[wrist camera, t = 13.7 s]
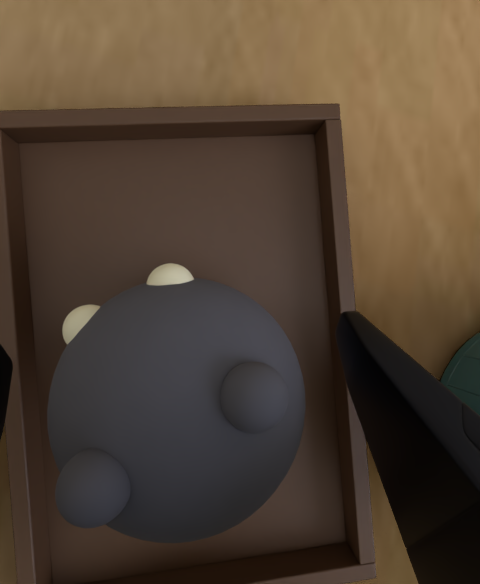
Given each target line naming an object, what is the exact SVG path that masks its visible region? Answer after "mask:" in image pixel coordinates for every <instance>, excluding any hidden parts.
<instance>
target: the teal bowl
mask: <svg viewBox="0 0 480 584" xmlns="http://www.w3.org/2000/svg"><path fill="white" fill-rule="evenodd" d="M440 382H441V383H442V384H443V385H444V386H445V387H447V388H448V389H449V390H450V391H451V392H452V393H454V394H455V395H456V396H457V397H458V398H459V399H461V401H462V403H465V404H467V405H468V406H469V407H470V408H471V409H472V410H474V411H475V412H476V413H477V414H478V415H480V332H479V333H477V334H476V335H474V336H473V337H472V338H471V339H469V340H468V341H467V342H466V343H465V344H464V345H463V346H462V347H461V348H460V349H459V350H458V351H457V353H456V354H455V355H454V357H453V358H452V359H451V361H450V363H449V364H448V366H447V368H446V369H445V371H444V373H443V376H442V378H441V380H440Z"/></svg>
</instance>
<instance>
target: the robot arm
mask: <svg viewBox="0 0 480 584" xmlns="http://www.w3.org/2000/svg"><path fill="white" fill-rule="evenodd" d="M335 337H336V342H337V346H338V350H339V354H340V358H341V363H342V367H343V371H344V375H345V379H346V383H347V387H348V390H349V393H350V396H351V399H352V401H353V404H354V407H355V410H356V412H357V415H358V418H359V421H360V423H361V426H362V429H363V432H364V434H365V437H366V440H367V443H368V445H369V448H370V451H371V453H372V456H373V459H374V462H375V464H376V467H377V470H378V473H379V475H380V478H381V481H382V484H383V486H384V489H385V492H386V495H387V497H388V500H389V503H390V506H391V508H392V511H393V514H394V517H395V519H396V522H397V525H398V528H399V530H400V533H401V536H402V539H403V541H404V544H405V547H406V548H407V549H406V550H407V553H408V556H409V558H410V561H411V564H412V567H413V569H414V572H415V575H416V578H417V580H418V583H419V584H480V415H478V414H477V413H476V412H475V411H474V410H472V409H471V408H470V407H469V406H468V405H467V404H465V403H462V401H461V399H459V398H458V397H457V396H456V395H455V394H454V393H452V392H451V391H450V390H449V389H448V388H447V387H445V386H444V385H443V384H442V383H441V382H440V381H438V380H437V379H436V378H435V377H434V376H433V375H431V374H430V373H429V372H428V371H427V370H426V369H424V368H423V367H422V366H421V365H420V364H419V363H417V362H416V361H415V360H414V359H413V358H411V357H410V356H409V355H408V354H407V353H406V352H404V351H403V350H402V349H401V348H400V347H399V346H397V345H396V344H395V343H394V342H393V341H392V340H390V339H389V338H388V337H387V336H386V335H385V334H383V333H382V332H381V331H380V330H379V329H378V328H376V327H375V326H374V325H373V324H372V323H371V322H369V321H368V320H367V319H366V318H365V317H364V316H362V315H361V314H360V313H359V312H357V311H346V312H343V313H341V315H340V318H339V321H338V324H337V327H336V331H335ZM12 371H13V363H12V360H11V358H10V357H9V355H8V354H7V353H6V351H5V350H4V348H3V347H2V345H1V344H0V440H1V436H2V432H3V428H4V424H5V418H6V412H7V406H8V399H9V392H10V385H11V378H12Z"/></svg>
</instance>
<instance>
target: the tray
mask: <svg viewBox="0 0 480 584" xmlns="http://www.w3.org/2000/svg"><path fill="white" fill-rule="evenodd" d="M168 263H173V264H178V265H181V266H183V267H185V268H186V269H187V270H188V271H189V272H190V273H191V274H192V276H193V278H200V279H206V280H210V281H214V282H219V283H221V284H224V285H226V286H229V287H232V288H234V289H236V290H238V291H239V292H241V293H243V294H245V295H247V296H248V297H250V298H251V299H253V300H254V301H255V302H257V303H258V304H259V305H261V306H262V307H263V308H264V309H265V310H266V311H267V312H268V313H269V314H270V315H271V316H272V317H273V318H274V319H275V320H276V322H277V323H278V324H279V325H280V327H281V328H282V329H283V331H284V332H285V334H286V336H287V337H288V339H289V341H290V342H291V345H292V347H293V349H294V351H295V354H296V356H297V359H298V362H299V365H300V369H301V372H302V375H303V381H304V388H305V406H306V408H305V418H304V427H303V432H302V436H301V441H300V445H299V448H298V450H297V453H296V456H295V459H294V461H293V463H292V465H291V467H290V469H289V471H288V473H287V475H286V476H285V477H284V479H283V480H282V482H281V483H280V485H279V486H278V488H277V489H276V491H275V492H274V493H273V494H272V495H271V497H270V498H269V499H268V500H267V501H266V502H265V503H264V504H263V505H262V506H261V507H260V508H259V509H258V510H257V511H256V512H254V513H253V514H252V515H251V516H250V517H248V518H247V519H245V520H244V521H242V522H241V523H239V524H238V525H236V526H234V527H232V528H230V529H228V530H226V531H224V532H222V533H220V534H217V535H214V536H211V537H209V538H205V539H201V540H196V541H192V542H183V543H157V542H151V541H145V540H140V539H137V538H134V537H130V536H127V535H124V534H122V533H120V532H118V531H116V530H114V529H112V528H110V527H108V526H107V525H105V524H104V525H102V526H99V527H95V528H80V527H76V526H74V525H72V524H70V523H69V522H67V521H66V520H65V519H64V518H63V517H62V515H61V514H60V512H59V510H58V508H57V505H56V500H55V489H56V483H57V480H58V477H59V475H60V472H59V470H58V468H57V465H56V463H55V459H54V456H53V453H52V450H51V446H50V441H49V435H48V425H47V409H48V400H49V392H50V387H51V383H52V380H53V376H54V372H55V369H56V367H57V364H58V362H59V359H60V357H61V355H62V353H63V351H64V350H65V348H66V346H67V344H66V342H65V340H64V338H63V333H62V329H63V323H64V321H65V319H66V317H67V316H68V314H69V313H70V312H71V311H73V310H74V309H76V308H78V307H80V306H83V305H97V306H102V305H103V304H104V303H106V302H107V301H108V300H110V299H111V298H113V297H115V296H116V295H118V294H120V293H121V292H123V291H126V290H128V289H130V288H132V287H135V286H137V285H140V284H143V283H147V280H148V277H149V275H150V274H151V273H152V271H153V270H154V269H156V268H157V267H159V266H161V265H163V264H168ZM346 311H356V308H355V295H354V283H353V270H352V257H351V244H350V231H349V218H348V205H347V193H346V180H345V167H344V154H343V141H342V128H341V120H340V107H339V104H292V105H246V106H199V107H152V108H106V109H59V110H12V111H0V344H1V345H2V347H3V348H4V350H5V351H6V353H7V354H8V355H9V357H10V358H11V360H12V363H13V371H12V378H11V385H10V392H9V399H8V406H7V412H6V418H5V431H6V444H7V456H8V469H9V482H10V495H11V508H12V521H13V533H14V546H15V559H16V572H17V584H344V583H350V582H356V581H362V580H368V579H373V578H376V568H375V552H374V540H373V527H372V514H371V501H370V488H369V475H368V462H367V450H366V437H365V434H364V432H363V429H362V426H361V423H360V421H359V418H358V415H357V412H356V410H355V407H354V404H353V401H352V399H351V396H350V393H349V390H348V387H347V383H346V379H345V375H344V371H343V367H342V363H341V358H340V354H339V350H338V346H337V342H336V337H335V331H336V327H337V324H338V321H339V318H340V315H341V313H343V312H346Z"/></svg>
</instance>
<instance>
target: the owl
mask: <svg viewBox="0 0 480 584" xmlns="http://www.w3.org/2000/svg"><path fill="white" fill-rule="evenodd" d="M62 333H63V338H64V340H65V342H66V344H67V346H66V348H65V350H64V351H63V353H62V355H61V357H60V359H59V362H58V364H57V367H56V369H55V372H54V376H53V380H52V383H51V387H50V392H49V400H48V409H47V425H48V435H49V441H50V446H51V450H52V453H53V456H54V459H55V463H56V465H57V468H58V470H59V472H60V475H59V477H58V480H57V483H56V489H55V500H56V505H57V508H58V510H59V512H60V514H61V515H62V517H63V518H64V519H65V520H66V521H67V522H69V523H70V524H72V525H74V526H76V527H80V528H95V527H99V526H102V525H104V524H105V525H107V526H108V527H110V528H112V529H114V530H116V531H118V532H120V533H122V534H124V535H127V536H130V537H134V538H137V539H140V540H145V541H151V542H157V543H183V542H192V541H196V540H201V539H205V538H209V537H211V536H214V535H217V534H220V533H222V532H224V531H226V530H228V529H230V528H232V527H234V526H236V525H238V524H239V523H241V522H242V521H244V520H245V519H247V518H248V517H250V516H251V515H252V514H253V513H254V512H256V511H257V510H258V509H259V508H260V507H261V506H262V505H263V504H264V503H265V502H266V501H267V500H268V499H269V498H270V497H271V495H272V494H273V493H274V492H275V491H276V489H277V488H278V486H279V485H280V483H281V482H282V480H283V479H284V477H285V476H286V475H287V473H288V471H289V469H290V467H291V465H292V463H293V461H294V459H295V456H296V453H297V450H298V448H299V445H300V441H301V436H302V432H303V427H304V418H305V408H306V406H305V388H304V381H303V375H302V372H301V369H300V365H299V362H298V359H297V356H296V354H295V351H294V349H293V347H292V345H291V342H290V341H289V339H288V337H287V336H286V334H285V332H284V331H283V329H282V328H281V327H280V325H279V324H278V323H277V322H276V320H275V319H274V318H273V317H272V316H271V315H270V314H269V313H268V312H267V311H266V310H265V309H264V308H263V307H262V306H261V305H259V304H258V303H257V302H255V301H254V300H253V299H251V298H250V297H248V296H247V295H245V294H243V293H241V292H239V291H238V290H236V289H234V288H232V287H229V286H226V285H224V284H221V283H219V282H214V281H210V280H206V279H200V278H193V276H192V274H191V273H190V272H189V271H188V270H187V269H186V268H185V267H183V266H181V265H178V264H173V263H168V264H163V265H161V266H159V267H157V268H156V269H154V270H153V271H152V273H151V274H150V275H149V277H148V280H147V283H143V284H140V285H137V286H135V287H132V288H130V289H128V290H126V291H123V292H121V293H120V294H118V295H116V296H115V297H113V298H111V299H110V300H108V301H107V302H106V303H104V304H103V305H102V306H97V305H83V306H80V307H78V308H76V309H74V310H73V311H71V312H70V313H69V314H68V316H67V317H66V319H65V321H64V323H63V329H62Z"/></svg>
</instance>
